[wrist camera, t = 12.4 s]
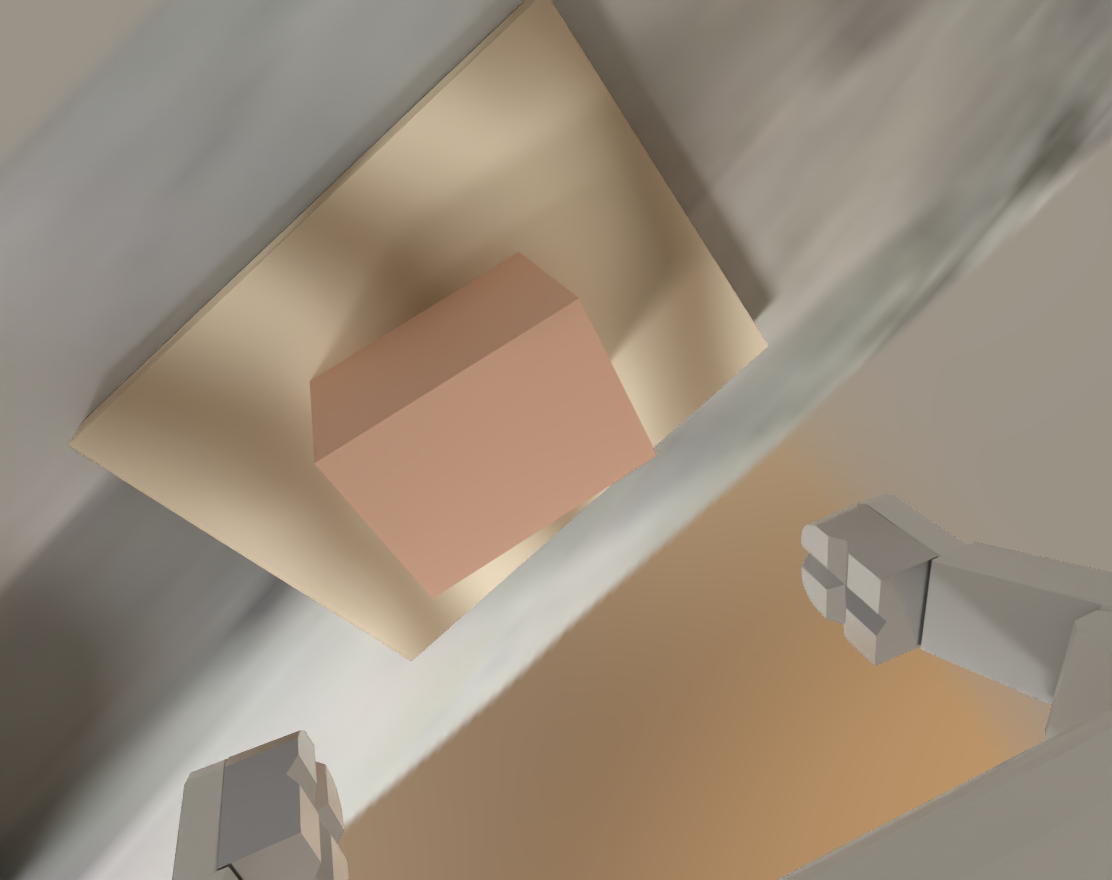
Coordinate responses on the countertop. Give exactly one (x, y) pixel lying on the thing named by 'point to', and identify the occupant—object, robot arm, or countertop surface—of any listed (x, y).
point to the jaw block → (476, 423)
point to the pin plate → (407, 290)
